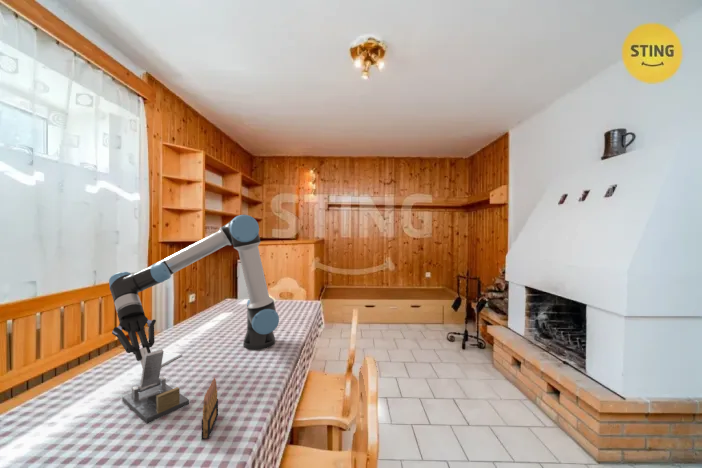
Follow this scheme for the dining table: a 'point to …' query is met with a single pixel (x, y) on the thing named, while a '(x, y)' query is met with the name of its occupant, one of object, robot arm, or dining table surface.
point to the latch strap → (151, 370)
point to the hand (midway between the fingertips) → (147, 367)
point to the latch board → (147, 408)
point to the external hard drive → (169, 358)
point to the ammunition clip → (209, 410)
